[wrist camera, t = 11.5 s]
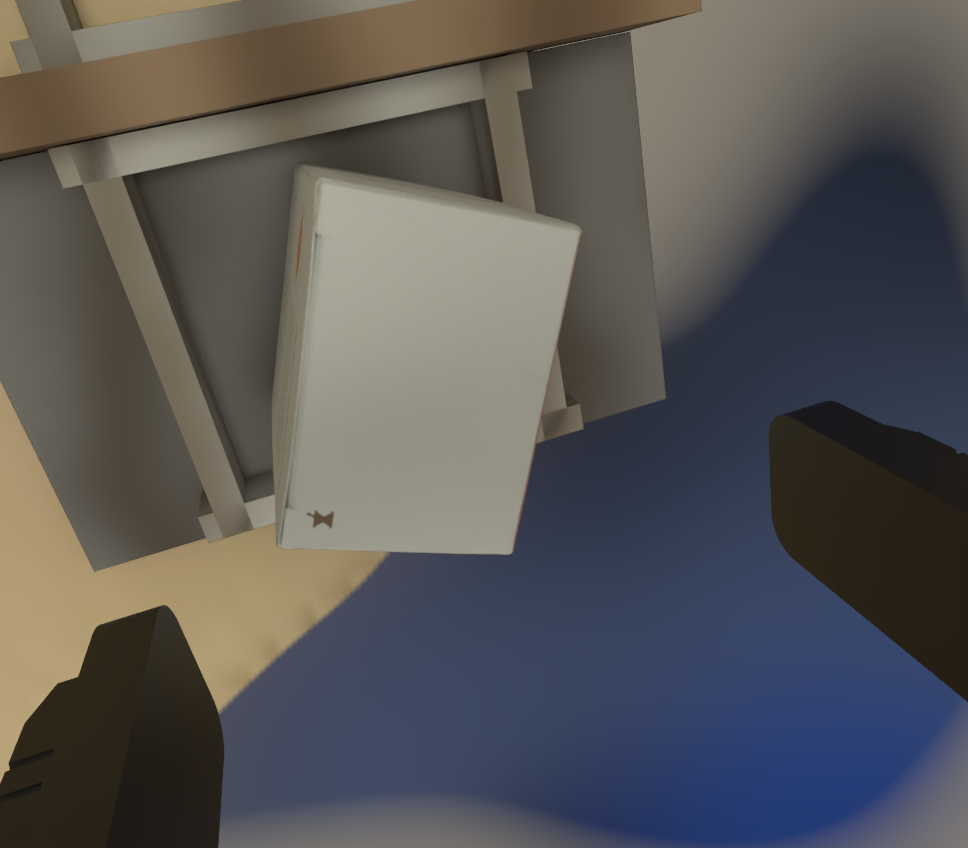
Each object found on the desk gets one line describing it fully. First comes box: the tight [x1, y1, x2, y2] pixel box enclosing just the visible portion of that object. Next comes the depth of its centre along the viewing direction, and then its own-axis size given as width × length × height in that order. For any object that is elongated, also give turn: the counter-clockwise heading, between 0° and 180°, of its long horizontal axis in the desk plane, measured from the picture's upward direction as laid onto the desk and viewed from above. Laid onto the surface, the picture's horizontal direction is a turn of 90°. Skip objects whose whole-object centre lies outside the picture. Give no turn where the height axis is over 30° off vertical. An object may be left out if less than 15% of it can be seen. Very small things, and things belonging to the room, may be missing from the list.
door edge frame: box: [0, 0, 702, 572], centre depth 21 cm, size 22×27×5 cm
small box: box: [272, 162, 582, 555], centre depth 20 cm, size 8×6×10 cm
